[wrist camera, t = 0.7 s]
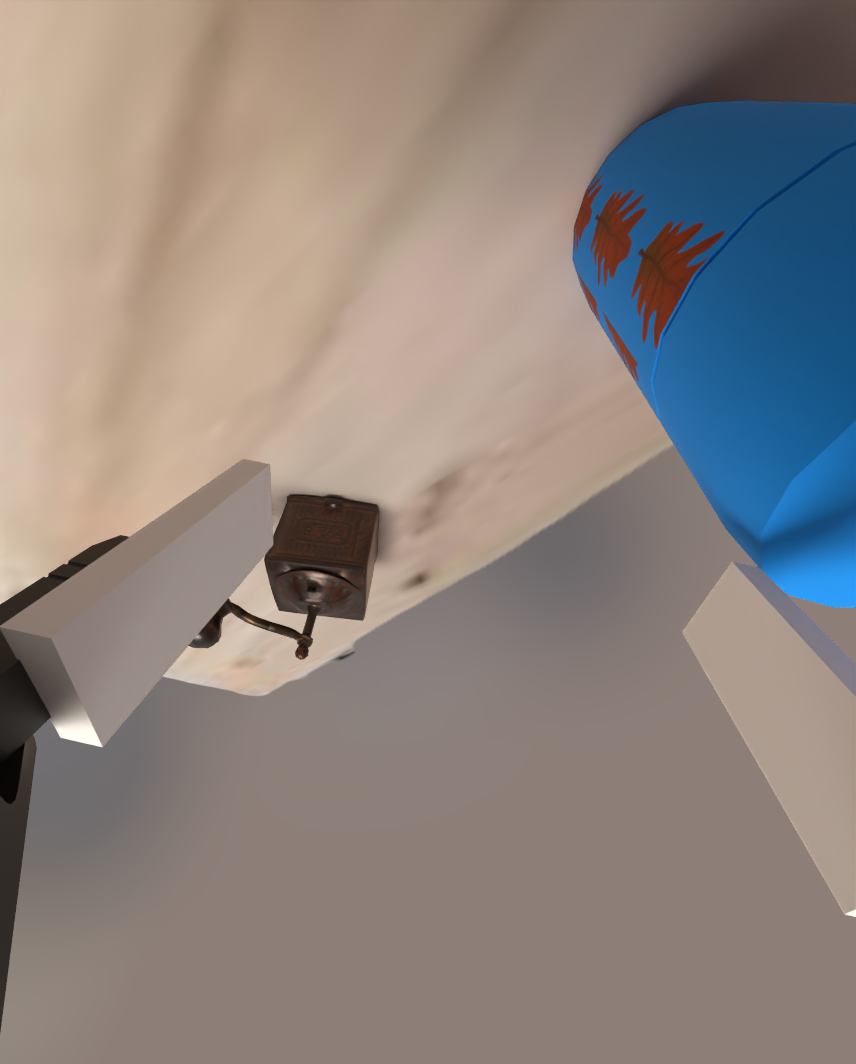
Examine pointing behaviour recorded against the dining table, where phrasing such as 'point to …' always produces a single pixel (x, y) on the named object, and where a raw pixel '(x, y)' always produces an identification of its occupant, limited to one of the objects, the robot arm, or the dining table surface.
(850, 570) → the thermos
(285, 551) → the manual coffee grinder
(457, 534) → the dining table surface
